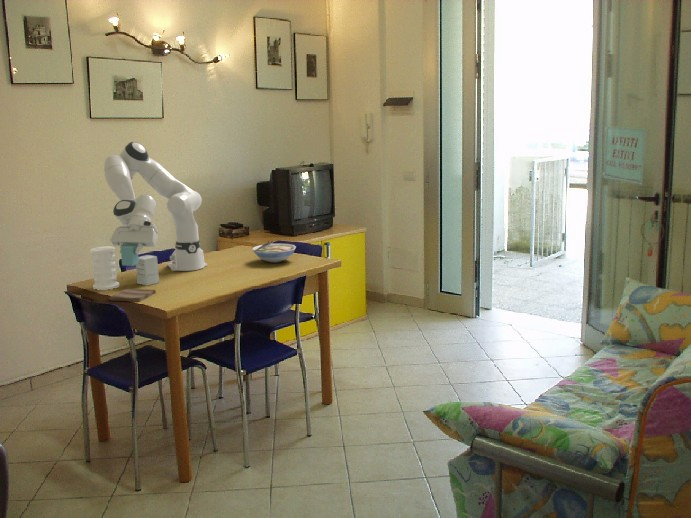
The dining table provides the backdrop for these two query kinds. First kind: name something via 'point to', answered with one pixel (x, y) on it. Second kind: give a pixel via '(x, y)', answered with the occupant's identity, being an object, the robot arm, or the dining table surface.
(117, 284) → the decorative container
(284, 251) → the ramen bowl
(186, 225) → the robot arm
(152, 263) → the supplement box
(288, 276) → the dining table surface
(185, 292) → the dining table surface
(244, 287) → the dining table surface
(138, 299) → the walnut board
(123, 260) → the teal block
